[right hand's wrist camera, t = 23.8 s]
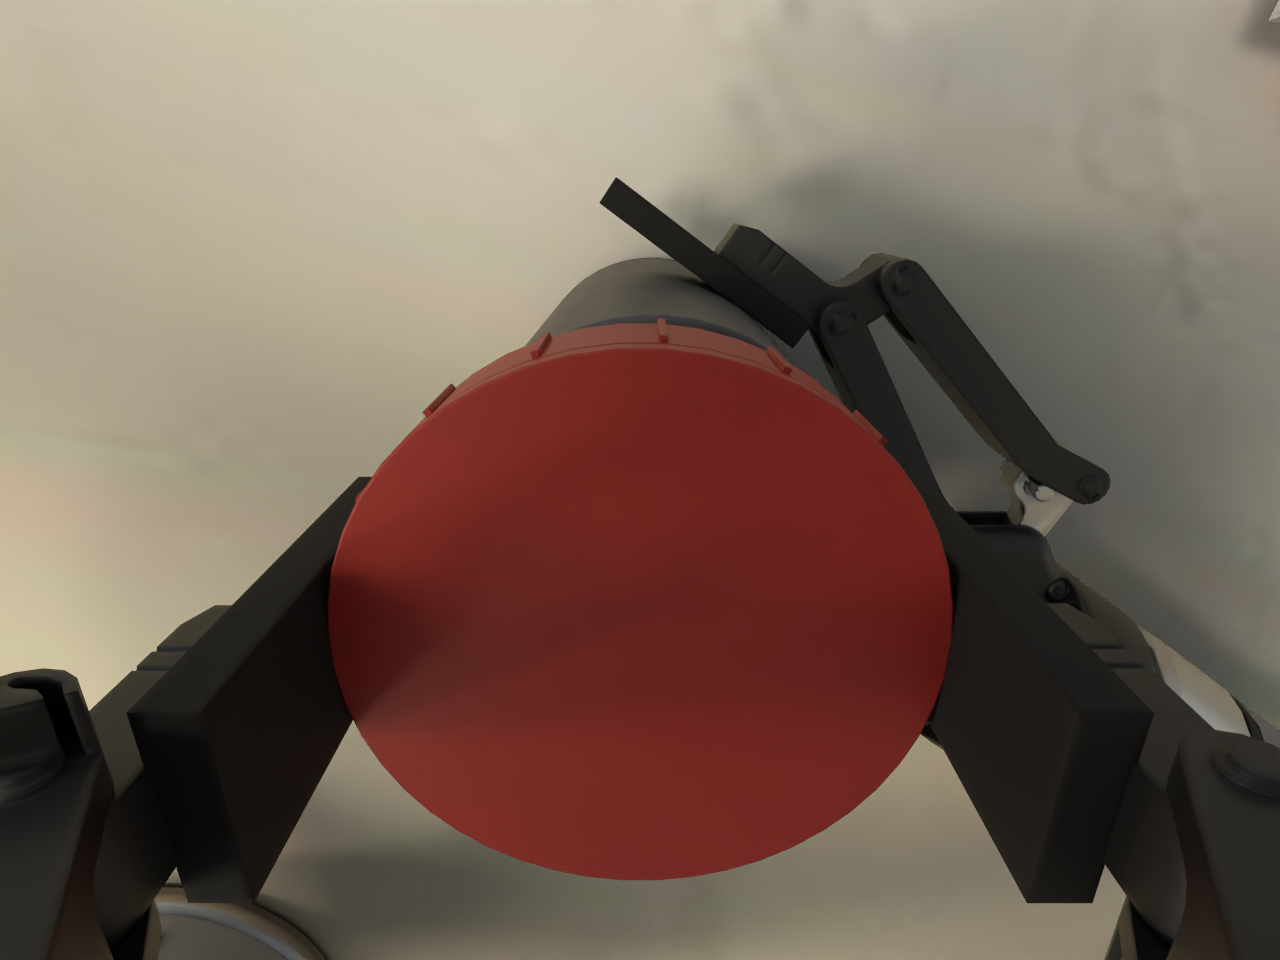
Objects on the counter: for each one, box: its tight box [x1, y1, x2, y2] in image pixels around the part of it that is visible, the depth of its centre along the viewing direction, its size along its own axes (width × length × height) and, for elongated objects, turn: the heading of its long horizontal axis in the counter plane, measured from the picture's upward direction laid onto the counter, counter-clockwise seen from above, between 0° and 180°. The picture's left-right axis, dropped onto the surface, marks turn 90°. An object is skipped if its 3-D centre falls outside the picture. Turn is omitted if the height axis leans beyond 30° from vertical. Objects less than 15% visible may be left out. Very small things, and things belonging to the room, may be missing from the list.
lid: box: [327, 318, 953, 880], centre depth 11 cm, size 9×9×2 cm
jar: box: [526, 258, 794, 366], centre depth 21 cm, size 8×8×15 cm
